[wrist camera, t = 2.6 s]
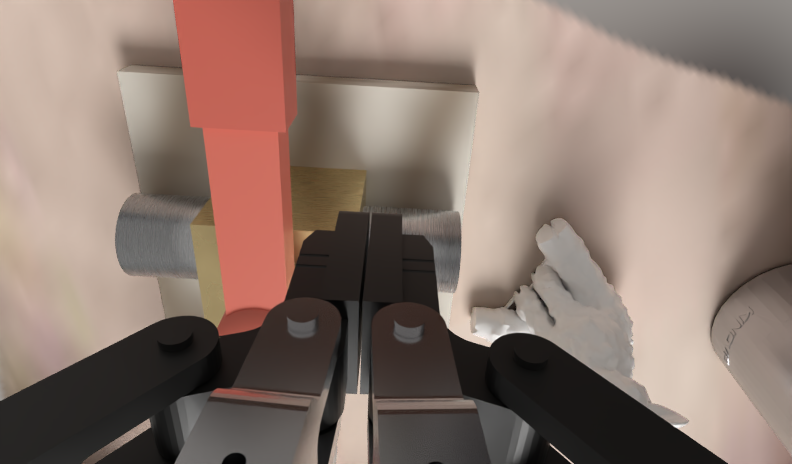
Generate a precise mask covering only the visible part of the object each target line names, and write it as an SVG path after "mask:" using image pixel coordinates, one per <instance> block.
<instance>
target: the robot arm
mask: <svg viewBox="0 0 792 464" xmlns="http://www.w3.org/2000/svg"><path fill="white" fill-rule="evenodd" d="M369 226H370V212H354V211H339V214H338V218H337V223H336V227H335V231H329V230H315V231H314V232H313V233H312V234H311V235H309V236H308V237H307V238H306V239H305V240H304V241H303V244H302V247H301V250H300V253H299V256H298V259H297V262H296V267H295V269H294V272H293V275H292V278H291V281H290V284H289V287H288V291H287V294H286V297H285V300H284V302H282V303H280V304H278V305H276V306H275V307H273V308H272V309H271V310H270V311H269V312H268V314H267V315H266V317H265V319H264V321H263V324H262V326H260V327H258V328H256V329H252V330H249V331H245V332H240V333H234V334H228V335H222V336H219V332H218V329H217V327H216V326H215V325H214V324H213V323H212V322H211V321H209V320H207V319H205V318H202V317H197V316H176V317H171V318H167V319H164V320H161V321H159V322H156V323H154V324H152V325H150V326H148V327H146V328H144V329H142V330H140V331H138V332H136V333H134V334H132V335H130V336H128V337H126V338H124V339H123V340H121V341H119V342H117V343H115V344H113V345H111V346H109V347H107V348H105V349H103V350H101V351H99V352H97V353H95V354H93V355H91V356H89V357H87V358H85V359H83V360H81V361H79V362H77V363H75V364H73V365H71V366H69V367H67V368H65V369H63V370H61V371H59V372H57V373H55V374H53V375H51V376H49V377H47V378H45V379H43V380H41V381H39V382H37V383H35V384H33V385H31V386H29V387H27V388H25V389H23V390H21V391H20V392H18V393H16V394H14V395H12V396H10V397H8V398H6V399H4V400H2V401H0V464H81V463H82V462H83V461H84V460H85V459H87V458H88V457H89V456H90V455H92V454H93V453H95V452H96V451H98V450H99V449H101V448H103V447H104V446H106V445H107V444H109V443H111V442H112V441H114V440H115V439H117V438H118V437H120V436H122V435H123V434H125V433H126V432H128V431H130V430H131V429H133V428H134V427H136V426H137V425H139V424H141V423H142V422H144V421H145V420H147V419H148V418H149V419H150V423H151V428H149V429H148V430H146V431H145V432H143V433H141V434H140V435H138V436H137V437H135V438H134V439H132V440H131V441H129V442H128V443H126V444H124V445H123V446H121V447H120V448H118V449H117V450H115V451H114V452H112V453H111V454H109V455H107V456H106V457H104V458H103V459H101V460H100V461H98V462H97V463H95V464H333V459H334V455H335V450H336V446H337V441H338V436H339V432H340V426H341V415H342V413H343V409H344V403H345V395H346V393H348V394H357V386H358V376H359V366H360V356H361V380H360V394H369V397H368V423H367V440H368V464H571V463H570V462H569V461H568V460H566V459H565V458H564V457H563V456H562V455H561V454H559V453H558V452H557V451H556V450H555V449H554V448H552V447H551V446H550V443H551V444H552V445H553V446H554V447H555V448H556V449H558V450H559V451H560V452H561V453H562V454H563V455H565V456H566V457H567V458H568V459H569V460H570V461H572V462H573V463H574V464H728V463H726V462H725V461H724V460H722V459H721V458H719V457H718V456H716V455H715V454H713V453H712V452H711V451H709V450H708V449H706V448H705V447H703V446H702V445H700V444H699V443H697V442H696V441H695V440H693V439H692V438H690V437H689V436H687V435H686V434H684V433H683V432H682V431H680V430H679V429H677V428H676V427H674V426H673V425H671V424H670V423H669V422H667V421H666V420H664V419H663V418H661V417H660V416H658V415H657V414H656V413H654V412H653V411H651V410H650V409H648V408H647V407H645V406H644V405H643V404H641V403H640V402H638V401H637V400H635V399H634V398H632V397H631V396H630V395H628V394H627V393H625V392H624V391H622V390H621V389H619V388H618V387H617V386H615V385H614V384H612V383H611V382H609V381H608V380H606V379H605V378H603V377H602V376H601V375H599V374H598V373H596V372H595V371H593V370H592V369H590V368H589V367H588V366H586V365H585V364H583V363H582V362H580V361H579V360H577V359H576V358H575V357H573V356H572V355H570V354H569V353H567V352H566V351H564V350H563V349H562V348H560V347H559V346H557V345H556V344H554V343H553V342H551V341H549V340H547V339H545V338H543V337H540V336H537V335H533V334H529V333H510V334H506V335H503V336H501V337H499V338H497V339H496V340H495V341H494V342H493V343H492V345H491V347H486V346H483V345H479V344H476V343H473V342H470V341H467V340H464V339H462V338H460V337H459V336H457V335H455V334H454V333H453V332H451V331H450V330H449V329H448V328H447V325H446V323H445V320H444V319H443V317H442V316H441V315H440V309H439V300H438V290H437V280H436V274H435V273H436V270H435V263H434V261H435V260H434V250H433V246H432V245H431V244H430V243H429V242H428V240H427V239H426V238H425V237H424V236H423V235H408V234H402V214H394V213H375V212H372V218H371V228H370V237H369ZM711 341H712V345H713V348H714V351H715V353H716V354H717V355H718V357H719V358H720V360H721V361H722V363H723V364H724V365H725V367H726V368H727V369H728V371H729V372H730V373H731V375H732V376H733V377H734V379H735V380H736V382H737V383H738V384H739V386H740V387H741V388H742V390H743V391H744V392H745V394H746V395H747V397H748V398H749V400H750V401H751V402H752V404H753V405H754V406H755V408H756V409H757V411H758V412H759V413H760V415H761V416H762V417H763V419H764V420H765V421H766V423H767V424H768V425H769V427H770V428H771V429H772V431H773V432H774V433H775V435H776V436H777V438H778V439H779V440H780V442H781V443H782V444H783V446H784V447H785V448H786V450H787V451H788V452H789V454H790V455H791V456H792V264H790V265H786V266H783V267H779V268H775V269H773V270H770V271H768V272H766V273H763V274H761V275H759V276H757V277H755V278H754V279H752V280H751V281H749V282H747V283H746V284H744V285H743V286H742V287H740V288H739V289H738V290H737V291H736V292H734V293H733V294H732V295H731V296H730V297H729V298H728V300H727V301H726V302H725V303H724V304H723V305H722V307H721V309H720V310H719V312H718V314H717V316H716V317H715V320H714V323H713V327H712V332H711ZM361 345H362V346H361Z"/></svg>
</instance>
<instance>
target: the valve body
mask: <svg viewBox="0 0 792 464" xmlns="http://www.w3.org/2000/svg"><path fill="white" fill-rule="evenodd" d="M366 174H367V170H353V169H336V168H318V167H301V166H290V178H291V199H292V221H293V243H294V265H295V267H296V262H297V259H298V256H299V253H300V250H301V247H302V244H303V241H304V240H305V239H306V238H307V237H308V236H309V235H311V234H312V233H313V232H314V231H315V230H329V231H335V227H336V223H337V218H338V214H339V211H354V212H370V226H369V237H370V228H371V218H372V212H375V213H394V214H402V234H408V235H423V236H424V237H425V238H426V239H427V240H428V242H429V243H430V244H431V245H432V246H433V250H434V260H435V261H434V263H435V270H436V273H435V274H436V280H437V290H438V293H455V291H456V288H457V284H458V278H459V270H460V259H461V219H460V213H459V211H447V210H429V209H412V208H394V207H376V206H366ZM115 246H116V253H117V258H118V261H119V264H120V266H121V268H122V269H123V271H124V272H125V273H126V274H128V275H131V276H146V277H164V278H182V279H198V280H199V287H200V293H201V300H202V306H203V313H204V318H205V319H207V320H209V321H211V322H212V323H213V324H214V325H215V326H216V327H218V325H219V323H220V321H221V319H222V317H223V315H224V313H225V311H226V309H225V301H224V293H223V285H222V277H221V269H220V261H219V254H218V246H217V238H216V230H215V222H214V214H213V206H212V199H211V197H199V196H181V195H163V194H146V193H135V194H132V195H131V196H130V197H128V199H127V200H126V201H125V202H124V204H123V206H122V208H121V210H120V213H119V216H118V220H117V225H116V233H115Z"/></svg>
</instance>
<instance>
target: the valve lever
mask: <svg viewBox="0 0 792 464" xmlns="http://www.w3.org/2000/svg"><path fill="white" fill-rule="evenodd" d="M173 4H174V11H175V18H176V26H177V33H178V40H179V47H180V55H181V62H182V69H183V76H184V83H185V91H186V98H187V105H188V112H189V120H190V127H198V128H203V136H204V143H205V151H206V159H207V167H208V175H209V183H210V191H211V199H212V206H213V214H214V222H215V230H216V238H217V246H218V254H219V261H220V269H221V277H222V285H223V293H224V301H225V309H226V311H225V313H224V315H223V317H222V319H221V321H220V323H219V325H218V327H217V329H218V332H219V336H222V335H228V334H234V333H240V332H245V331H249V330H252V329H256V328H258V327H260V326H262V324H263V321H264V319H265V317H266V315H267V314H268V312H269V311H270V310H271V309H272V308H273V307H275V306H276V305H278V304H280V303H282V302H284V300H285V297H286V294H287V291H288V287H289V284H290V281H291V278H292V275H293V272H294V269H295V265H294V243H293V221H292V199H291V178H290V156H289V134H288V128H289V127H290V125H291V124H292V122H293V120H294V119H295V117H296V115H297V91H296V64H295V37H294V10H293V0H173Z"/></svg>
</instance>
